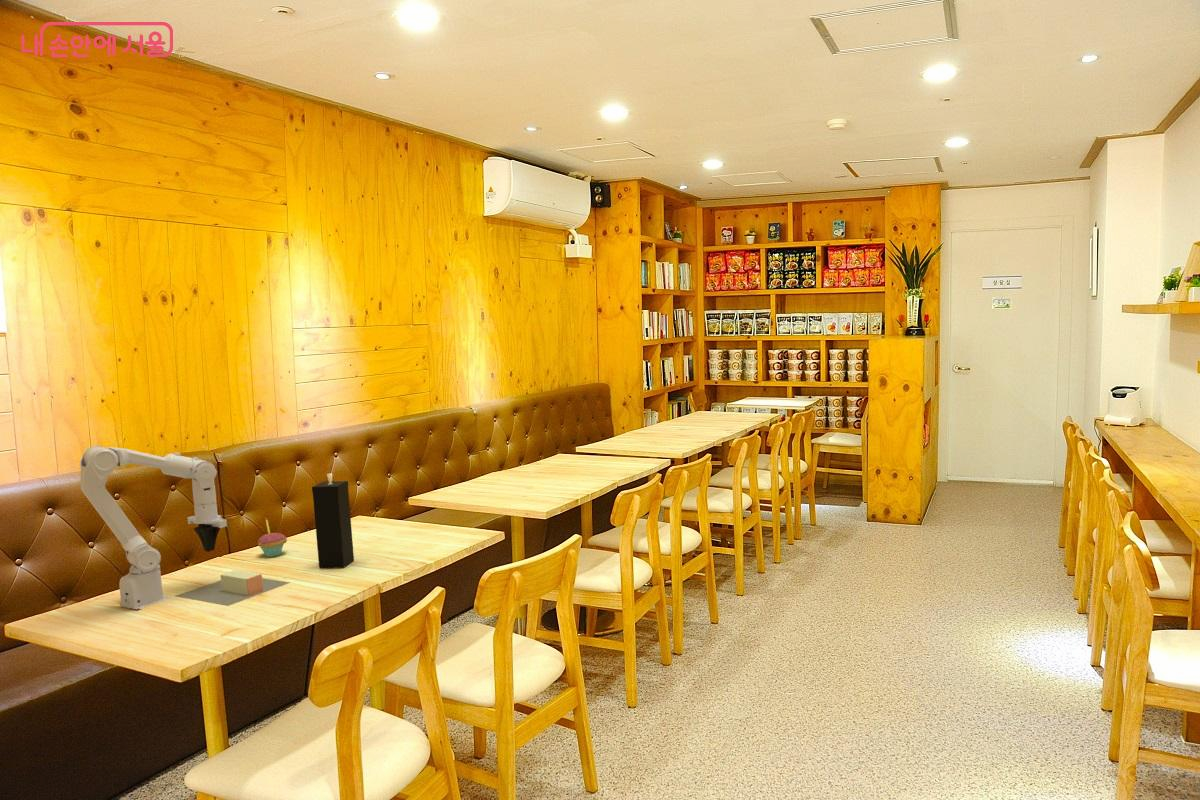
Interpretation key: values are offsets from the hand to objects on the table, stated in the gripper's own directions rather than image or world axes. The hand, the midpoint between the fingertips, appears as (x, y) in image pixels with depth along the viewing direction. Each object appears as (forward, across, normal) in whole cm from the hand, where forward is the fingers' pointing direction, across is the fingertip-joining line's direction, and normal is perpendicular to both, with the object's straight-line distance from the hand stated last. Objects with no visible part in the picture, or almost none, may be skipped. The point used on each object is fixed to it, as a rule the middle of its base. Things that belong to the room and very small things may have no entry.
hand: (209, 550), depth 232 cm
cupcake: (+10, +11, -29) cm, 33 cm away
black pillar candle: (+10, -18, -29) cm, 35 cm away
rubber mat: (+10, -10, +1) cm, 14 cm away
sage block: (+8, -8, +1) cm, 11 cm away
